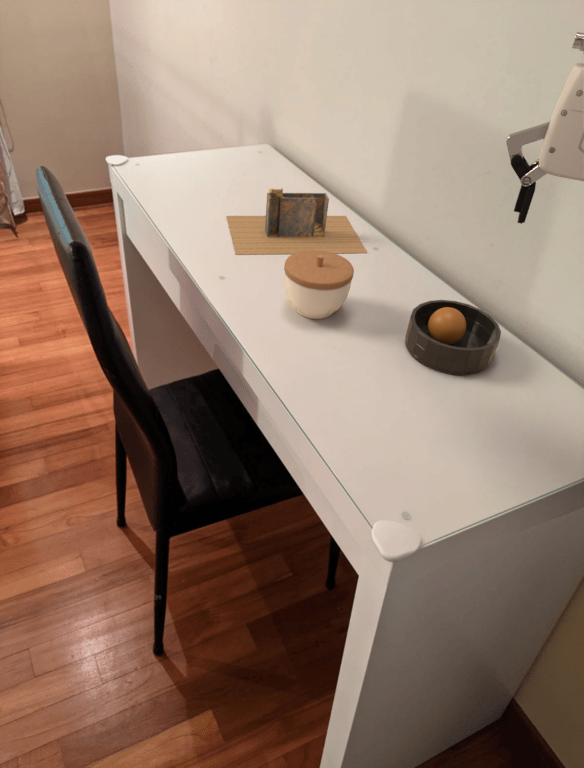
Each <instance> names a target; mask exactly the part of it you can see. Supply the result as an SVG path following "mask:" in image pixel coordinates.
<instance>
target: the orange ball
mask: <svg viewBox="0 0 584 768" xmlns="http://www.w3.org/2000/svg"><path fill="white" fill-rule="evenodd" d="M428 331H429V334H430V336H431V337H432V339H434V340H436V341H438V342H441V343H443V344H447V345H450V344H454V343H456V342H458V341H459V340H460V339H461V338H462V337H463V335H464V334H465V331H466V320H465V318H464V316H463V315H462V313H461V312H460V311H458V310H457V309H454V308H450V307H445V308H441V309H438V310H437V311H435V312H434V313H433V314H432V315H431V317H430V319H429V322H428Z"/></svg>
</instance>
